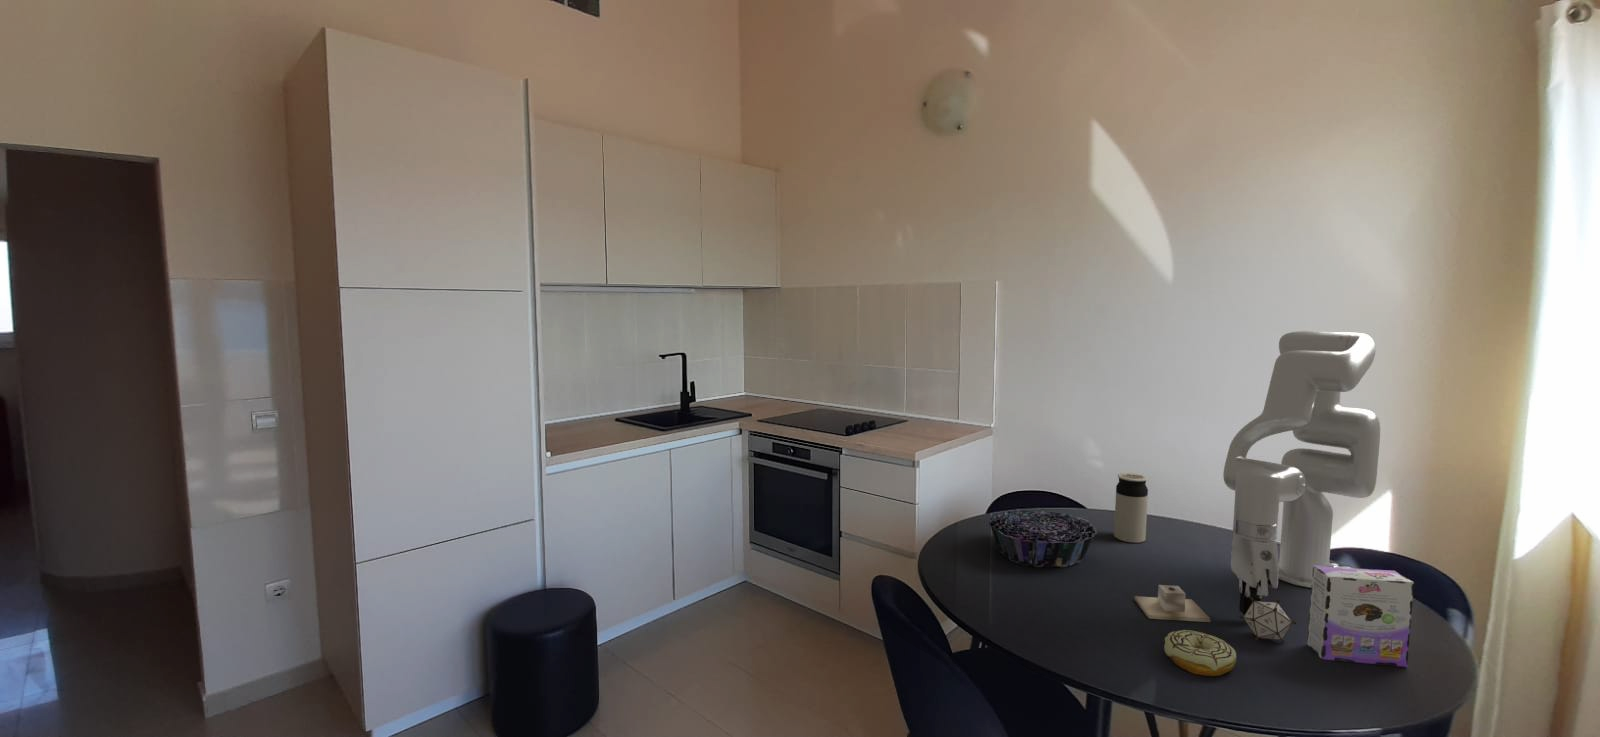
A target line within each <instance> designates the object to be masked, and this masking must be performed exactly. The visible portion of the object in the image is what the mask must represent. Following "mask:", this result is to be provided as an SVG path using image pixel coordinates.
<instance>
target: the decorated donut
mask: <svg viewBox="0 0 1600 737" xmlns="http://www.w3.org/2000/svg"><path fill="white" fill-rule="evenodd" d="M1164 642H1165V643H1164V647H1163V649H1164V653H1165V654H1166V656H1167V657H1169V658H1170V659H1171V661H1172V662H1173V663H1174V664H1175V665H1177V666H1178V667H1179V668H1181V669H1183V670H1185V671H1187V672H1189V673H1191V674H1194V675H1199V676H1207V677H1208V676H1209V677H1215V676H1217V677H1220V676H1222V675H1225V674H1226V673H1229V672H1231V671H1232V670H1233V669H1234V667H1235V664H1236V662H1237V651H1236V650H1235V649H1234V647H1233V646H1231V645H1230V644H1229V643H1227V641H1225V640H1223V639H1221V638H1218V637H1217V636H1215V635H1212V634H1207V633H1204V632H1200V631H1196V630H1190V629H1181V630H1174V631H1170V632H1169V633H1168V634H1167V636H1165V638H1164Z"/></svg>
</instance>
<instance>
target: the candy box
mask: <svg viewBox="0 0 1600 737" xmlns="http://www.w3.org/2000/svg"><path fill="white" fill-rule="evenodd" d="M1343 567H1344V566H1343ZM1343 567H1340V566H1339V567H1328V566H1314V565H1313V575H1312V587H1311V588H1310V589H1311V590H1310V601H1309V613H1308V615H1309V616H1308V628H1307V629H1308V630H1307V638H1306V641H1307V644H1306V645H1307V646H1308V647H1309V648H1310V649H1311V650H1312V651H1313V652H1314V653H1315V654H1316V655H1317V656H1318V657H1319V658H1320V659H1321V660H1326V661H1337V662H1346V663H1347V662H1349V663H1359V664H1369V665H1370V664H1371V665H1381V666H1393V667H1404V668H1405V667H1406V668H1408V664H1409V651H1410V636H1411V625H1412V611H1413V600H1414V598H1413V597H1414V587H1415V582H1414V581H1413V580H1410V579H1409V578H1408V577H1406V576H1404V575H1402V574H1400V573H1399V572H1397V571H1396V570H1390V569H1389V570H1385V569H1384V570H1383V569H1373V568H1370V569H1369V568H1356V567H1350V568H1343Z"/></svg>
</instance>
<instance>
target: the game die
mask: <svg viewBox="0 0 1600 737" xmlns="http://www.w3.org/2000/svg"><path fill="white" fill-rule="evenodd" d="M1251 600H1252V601H1253V602H1252V604H1251V605H1250V607H1249V609H1248V610H1247V612H1246V614H1245V615H1244V614H1243V615H1242V616H1241V615H1240V616H1238V618H1239V619H1241V620H1244V621H1245V622H1246V625H1247V626H1249V628H1250V630H1251V631H1252V632H1253V634H1254V635H1255V638H1254V641H1255V642H1259V639H1265V640H1266V639H1267V640H1277V641H1278V640H1280V642H1281V643H1282V644H1285V643H1286V642H1285V640H1284V639H1283V638H1284V637H1285V636H1286V634H1287V633H1288V631H1289V629H1290V628H1291V626H1292V625H1297V624H1298V622H1297V621H1292V619H1291V618H1290V617H1289V615H1287V613H1286V612H1285V610H1284V609H1283V608H1282V606H1281V605H1280V604H1279V603H1280V602H1281V601H1280V598H1278V599H1276V601H1264V600H1263V601H1262V600H1261V601H1254V599H1253V598H1252V597H1251Z"/></svg>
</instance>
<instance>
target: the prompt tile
mask: <svg viewBox="0 0 1600 737" xmlns="http://www.w3.org/2000/svg"><path fill="white" fill-rule="evenodd" d="M1133 599H1134V601H1135V603H1137V605H1138V607H1139V608H1140V609H1141V611H1143V613H1144V614H1145V615H1146V617H1147V618H1148V619H1152V620H1153V619H1154V620H1165V621H1168V620H1169V621H1183V622H1185V621H1187V622H1203V623H1211V617H1209V616H1208V615H1207V613H1205V611H1203V609H1202V608H1201V607H1200V606H1199V605H1198V604H1197V603H1196V602H1195V601H1194V600H1193V599H1192V598H1186V592H1185V591H1184V590H1183V589H1181V587H1180V586H1179V585H1171V584H1169V585H1166V584H1158V590H1157V597H1154V596H1150V597H1149V596H1140V595H1139V596H1138V595H1136V596H1134V598H1133Z"/></svg>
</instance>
